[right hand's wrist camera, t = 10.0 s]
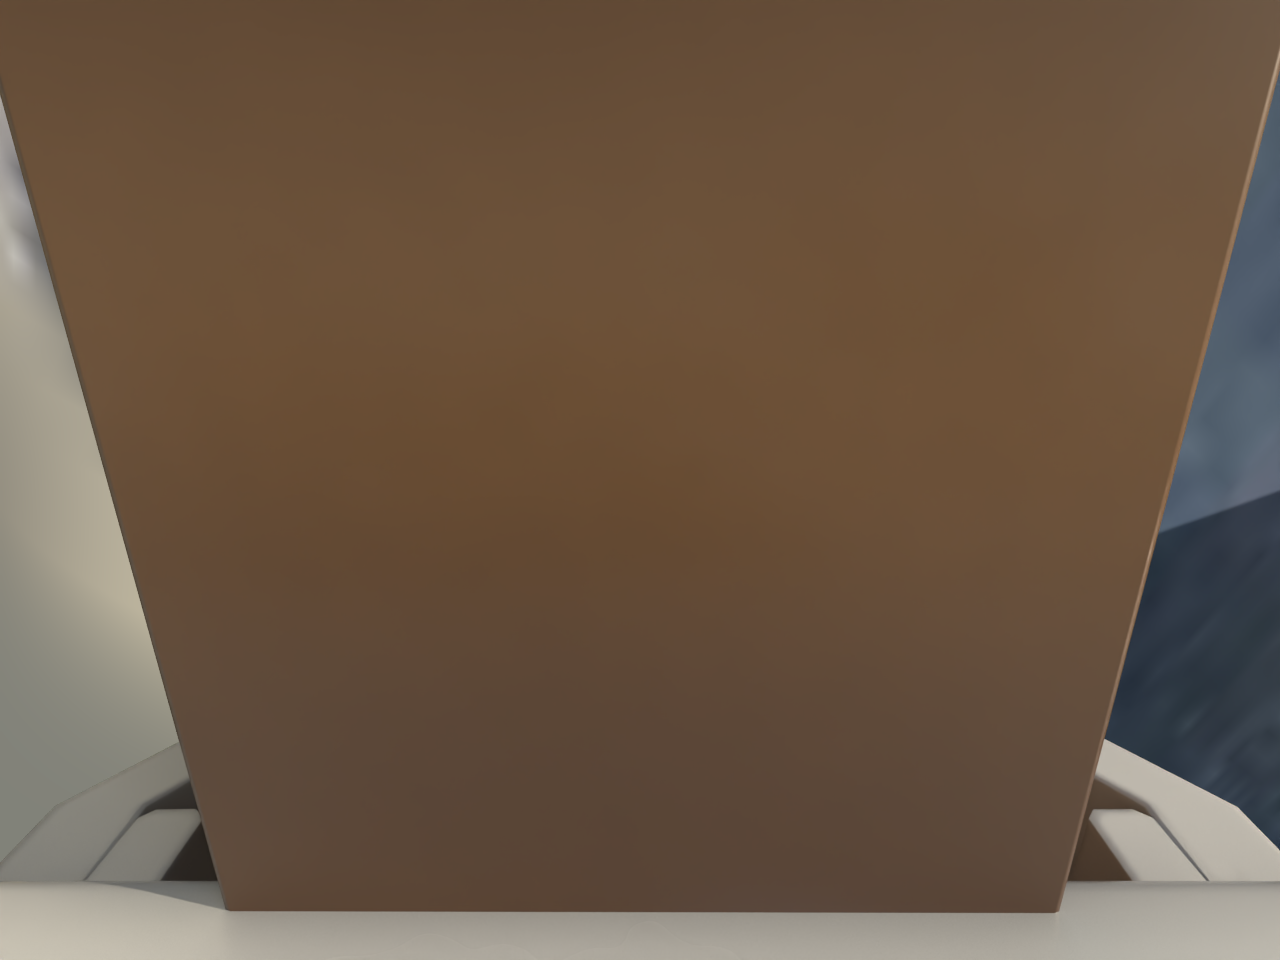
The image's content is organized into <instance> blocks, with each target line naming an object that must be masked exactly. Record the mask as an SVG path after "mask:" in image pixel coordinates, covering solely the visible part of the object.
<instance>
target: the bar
mask: <svg viewBox="0 0 1280 960" xmlns="http://www.w3.org/2000/svg"><path fill="white" fill-rule="evenodd" d="M1279 70H1280V0H0V95H1V99H2V103H3V106H4V110H5V113H6V117H7V121H8V124H9V128H10V131H11V135H12V139H13V142H14V146H15V150H16V153H17V157H18V160H19V164H20V168H21V171H22V175H23V178H24V182H25V186H26V189H27V193H28V197H29V200H30V204H31V207H32V211H33V215H34V218H35V222H36V225H37V229H38V233H39V236H40V240H41V244H42V247H43V251H44V254H45V258H46V262H47V265H48V269H49V272H50V276H51V280H52V283H53V287H54V291H55V294H56V298H57V301H58V305H59V309H60V312H61V316H62V319H63V323H64V327H65V330H66V334H67V338H68V341H69V345H70V348H71V352H72V356H73V359H74V363H75V366H76V370H77V374H78V377H79V381H80V385H81V388H82V392H83V395H84V399H85V403H86V406H87V410H88V413H89V417H90V421H91V424H92V428H93V432H94V435H95V439H96V442H97V446H98V450H99V453H100V457H101V460H102V464H103V468H104V471H105V475H106V479H107V482H108V486H109V489H110V493H111V497H112V500H113V504H114V507H115V511H116V515H117V518H118V522H119V526H120V529H121V533H122V536H123V540H124V544H125V547H126V551H127V554H128V558H129V562H130V565H131V569H132V573H133V576H134V580H135V583H136V587H137V591H138V594H139V598H140V601H141V605H142V609H143V612H144V616H145V619H146V623H147V627H148V630H149V634H150V638H151V641H152V645H153V648H154V652H155V656H156V659H157V663H158V667H159V670H160V674H161V677H162V681H163V685H164V688H165V692H166V695H167V699H168V703H169V706H170V710H171V713H172V717H173V721H174V724H175V728H176V732H177V735H178V739H179V742H180V746H181V750H182V753H183V757H184V761H185V764H186V768H187V771H188V775H189V779H190V782H191V786H192V789H193V793H194V797H195V800H196V804H197V808H198V811H199V815H200V818H201V822H202V826H203V829H204V833H205V836H206V840H207V844H208V847H209V851H210V855H211V858H212V862H213V865H214V869H215V873H216V876H217V880H218V883H219V887H220V891H221V894H222V898H223V902H224V905H225V909H226V910H228V911H333V912H762V913H1056V912H1059V910H1060V906H1061V902H1062V899H1063V895H1064V891H1065V887H1066V883H1067V880H1068V876H1069V872H1070V868H1071V864H1072V860H1073V857H1074V853H1075V849H1076V845H1077V841H1078V838H1079V834H1080V830H1081V826H1082V822H1083V818H1084V815H1085V811H1086V807H1087V803H1088V799H1089V796H1090V792H1091V788H1092V784H1093V780H1094V776H1095V773H1096V769H1097V765H1098V761H1099V757H1100V754H1101V750H1102V746H1103V742H1104V738H1105V734H1106V731H1107V727H1108V723H1109V719H1110V715H1111V712H1112V708H1113V704H1114V700H1115V696H1116V692H1117V689H1118V685H1119V681H1120V677H1121V673H1122V670H1123V666H1124V662H1125V658H1126V654H1127V650H1128V647H1129V643H1130V639H1131V635H1132V631H1133V628H1134V624H1135V620H1136V616H1137V612H1138V608H1139V605H1140V601H1141V597H1142V593H1143V589H1144V586H1145V582H1146V578H1147V574H1148V570H1149V566H1150V563H1151V559H1152V555H1153V551H1154V547H1155V544H1156V540H1157V536H1158V532H1159V528H1160V524H1161V521H1162V517H1163V513H1164V509H1165V505H1166V502H1167V498H1168V494H1169V490H1170V486H1171V482H1172V479H1173V475H1174V471H1175V467H1176V463H1177V460H1178V456H1179V452H1180V448H1181V444H1182V440H1183V437H1184V433H1185V429H1186V425H1187V421H1188V418H1189V414H1190V410H1191V406H1192V402H1193V398H1194V395H1195V391H1196V387H1197V383H1198V379H1199V376H1200V372H1201V368H1202V364H1203V360H1204V356H1205V353H1206V349H1207V345H1208V341H1209V337H1210V334H1211V330H1212V326H1213V322H1214V318H1215V315H1216V311H1217V307H1218V303H1219V299H1220V295H1221V292H1222V288H1223V284H1224V280H1225V276H1226V273H1227V269H1228V265H1229V261H1230V257H1231V253H1232V250H1233V246H1234V242H1235V238H1236V234H1237V231H1238V227H1239V223H1240V219H1241V215H1242V211H1243V208H1244V204H1245V200H1246V196H1247V192H1248V189H1249V185H1250V181H1251V177H1252V173H1253V169H1254V166H1255V162H1256V158H1257V154H1258V150H1259V147H1260V143H1261V139H1262V135H1263V131H1264V127H1265V124H1266V120H1267V116H1268V112H1269V108H1270V105H1271V101H1272V97H1273V93H1274V89H1275V85H1276V82H1277V78H1278V74H1279Z"/></svg>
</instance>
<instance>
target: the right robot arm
mask: <svg viewBox="0 0 1280 960" xmlns="http://www.w3.org/2000/svg"><path fill="white" fill-rule="evenodd" d="M0 960H1280V850H1279V849H1278V848H1277V847H1276V846H1275V845H1274V844H1273V843H1272V842H1271V841H1270V840H1269V839H1268V838H1267V837H1266V836H1265V835H1264V834H1263V833H1262V832H1261V831H1260V830H1259V829H1258V828H1257V827H1256V826H1255V825H1254V824H1253V823H1252V822H1251V821H1250V820H1249V819H1248V817H1247V816H1246V815H1245V814H1244V813H1243V812H1242V811H1241V810H1240V809H1239V808H1238V807H1236V806H1234V805H1232V804H1230V803H1228V802H1226V801H1225V800H1223V799H1221V798H1219V797H1217V796H1215V795H1213V794H1211V793H1209V792H1207V791H1205V790H1203V789H1201V788H1199V787H1197V786H1195V785H1193V784H1191V783H1189V782H1187V781H1186V780H1184V779H1182V778H1180V777H1178V776H1176V775H1174V774H1172V773H1170V772H1168V771H1166V770H1164V769H1162V768H1160V767H1158V766H1156V765H1154V764H1152V763H1150V762H1148V761H1147V760H1145V759H1143V758H1141V757H1139V756H1137V755H1135V754H1133V753H1131V752H1129V751H1127V750H1125V749H1123V748H1121V747H1119V746H1117V745H1115V744H1113V743H1111V742H1109V741H1107V740H1106V739H1104V742H1103V746H1102V750H1101V754H1100V757H1099V761H1098V765H1097V769H1096V773H1095V776H1094V780H1093V784H1092V788H1091V792H1090V796H1089V799H1088V803H1087V807H1086V811H1085V815H1084V818H1083V822H1082V826H1081V830H1080V834H1079V838H1078V841H1077V845H1076V849H1075V853H1074V857H1073V860H1072V864H1071V868H1070V872H1069V876H1068V880H1067V883H1066V887H1065V891H1064V895H1063V899H1062V902H1061V906H1060V910H1059V912H1056V913H762V912H333V911H228V910H226V909H225V905H224V902H223V898H222V894H221V891H220V887H219V883H218V880H217V876H216V873H215V869H214V865H213V862H212V858H211V855H210V851H209V847H208V844H207V840H206V836H205V833H204V829H203V826H202V822H201V818H200V815H199V811H198V808H197V804H196V800H195V797H194V793H193V789H192V786H191V782H190V779H189V775H188V771H187V768H186V764H185V761H184V757H183V753H182V750H181V746H180V742H178V743H176V744H174V745H172V746H170V747H168V748H166V749H164V750H162V751H160V752H158V753H156V754H155V755H153V756H151V757H149V758H147V759H145V760H143V761H141V762H139V763H137V764H135V765H133V766H131V767H129V768H127V769H125V770H123V771H122V772H120V773H118V774H116V775H114V776H112V777H110V778H108V779H106V780H104V781H102V782H100V783H98V784H96V785H94V786H92V787H91V788H89V789H87V790H85V791H83V792H81V793H79V794H77V795H75V796H73V797H71V798H69V799H67V800H65V801H64V802H62V803H60V804H58V805H56V806H54V807H53V808H52V810H51V811H50V812H49V813H48V814H47V815H46V816H45V817H44V818H43V819H42V820H41V821H40V822H39V823H38V824H37V825H36V826H35V827H34V828H33V829H32V830H31V831H30V832H29V833H28V834H27V835H26V836H25V837H24V838H23V840H22V841H21V842H20V843H19V844H18V845H17V846H16V847H15V848H14V849H13V850H12V851H11V852H10V853H9V854H8V855H7V856H6V857H5V858H4V859H3V860H2V861H1V862H0Z"/></svg>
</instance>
